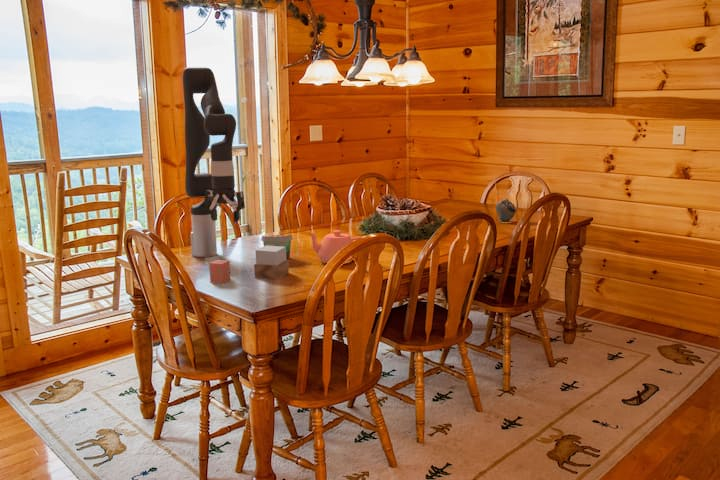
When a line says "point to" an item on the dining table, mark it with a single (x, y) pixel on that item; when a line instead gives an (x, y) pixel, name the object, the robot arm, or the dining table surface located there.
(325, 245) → the teapot
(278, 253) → the top slab
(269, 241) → the food container
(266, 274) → the bottom slab
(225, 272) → the red block
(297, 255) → the dining table surface
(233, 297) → the dining table surface
